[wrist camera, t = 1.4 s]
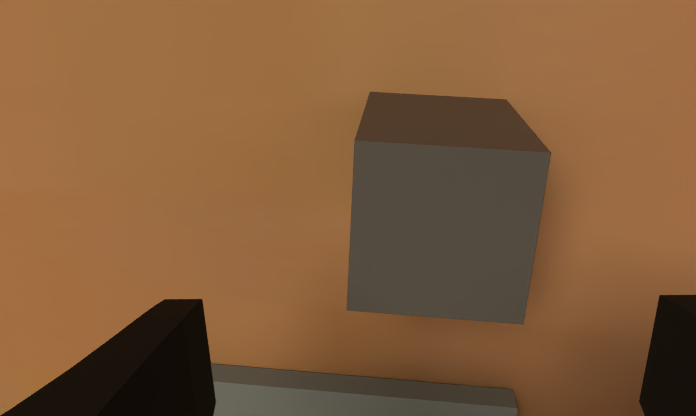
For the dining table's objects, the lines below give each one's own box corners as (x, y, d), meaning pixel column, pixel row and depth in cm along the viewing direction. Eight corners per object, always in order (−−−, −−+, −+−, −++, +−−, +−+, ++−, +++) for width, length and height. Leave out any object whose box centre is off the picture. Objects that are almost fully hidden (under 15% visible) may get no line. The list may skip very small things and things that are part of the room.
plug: (505, 99, 18) (550, 152, 13) (489, 226, 20) (523, 324, 14) (370, 91, 18) (354, 140, 13) (363, 216, 20) (346, 309, 14)
